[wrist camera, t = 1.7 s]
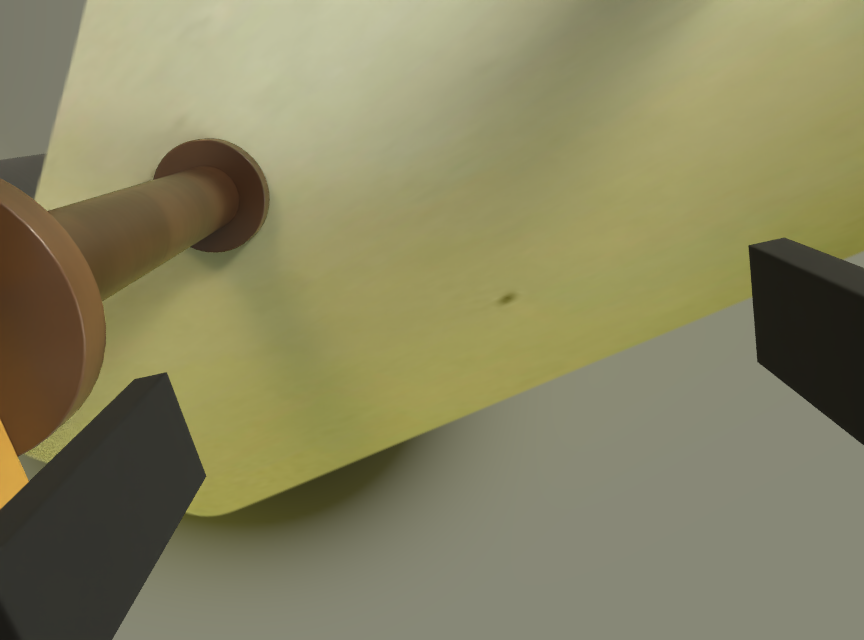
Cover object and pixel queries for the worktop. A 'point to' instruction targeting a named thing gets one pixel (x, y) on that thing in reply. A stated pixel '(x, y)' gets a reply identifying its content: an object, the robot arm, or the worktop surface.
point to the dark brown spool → (103, 270)
